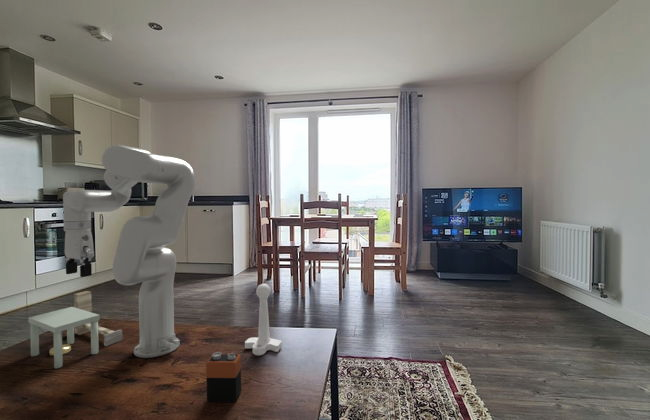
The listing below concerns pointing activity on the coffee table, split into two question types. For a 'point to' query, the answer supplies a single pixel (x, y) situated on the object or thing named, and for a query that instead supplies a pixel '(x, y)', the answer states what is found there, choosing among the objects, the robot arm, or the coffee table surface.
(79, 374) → the coffee table surface
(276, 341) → the joystick
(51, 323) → the stand
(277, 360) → the coffee table surface
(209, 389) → the battery
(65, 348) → the token
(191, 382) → the coffee table surface
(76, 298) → the hoe
